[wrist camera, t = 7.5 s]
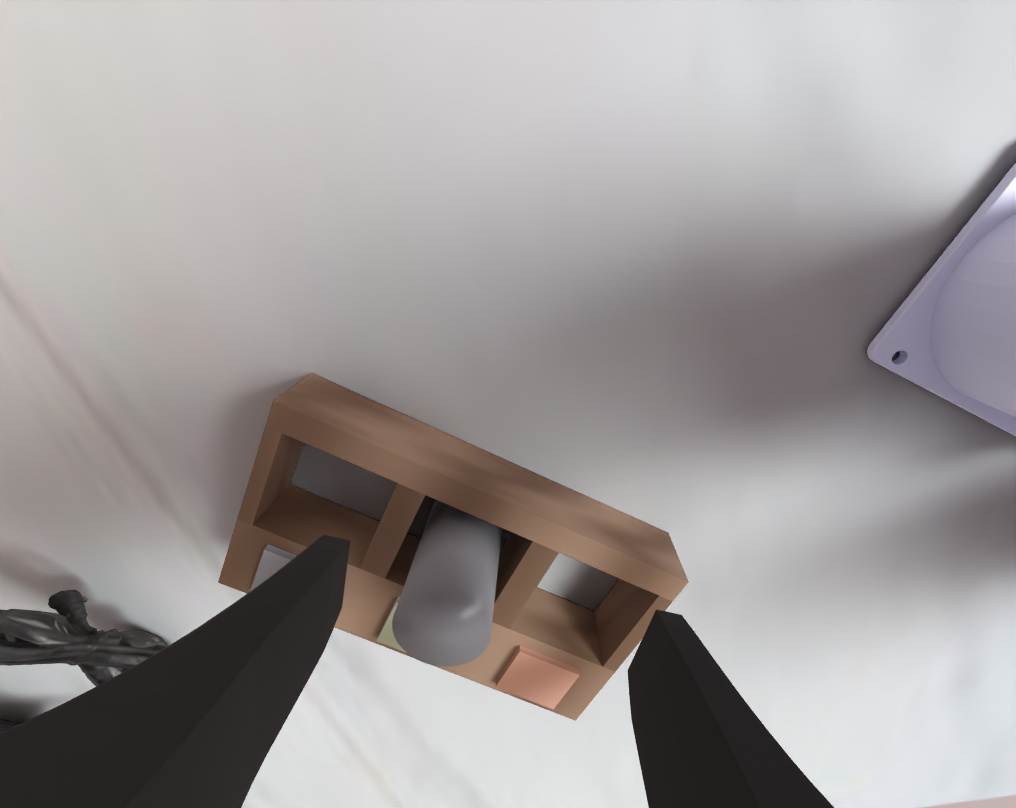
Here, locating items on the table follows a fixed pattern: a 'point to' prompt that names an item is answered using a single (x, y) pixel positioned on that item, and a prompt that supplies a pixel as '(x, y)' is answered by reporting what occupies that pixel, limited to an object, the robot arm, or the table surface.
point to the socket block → (477, 491)
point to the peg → (449, 589)
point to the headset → (70, 641)
